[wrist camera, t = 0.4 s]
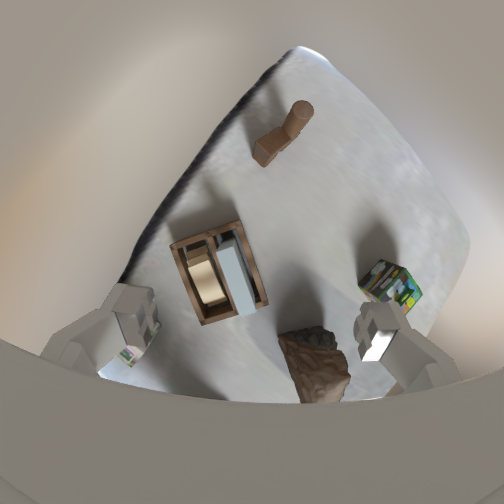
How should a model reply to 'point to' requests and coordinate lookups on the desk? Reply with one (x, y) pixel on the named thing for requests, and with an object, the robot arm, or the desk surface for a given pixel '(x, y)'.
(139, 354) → the syrup box
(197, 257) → the middle pine offcut
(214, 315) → the walnut rack
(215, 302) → the long pine offcut
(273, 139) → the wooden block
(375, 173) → the desk surface
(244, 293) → the tall sheet
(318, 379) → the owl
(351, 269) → the desk surface
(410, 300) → the chalk box
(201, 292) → the short pine offcut
